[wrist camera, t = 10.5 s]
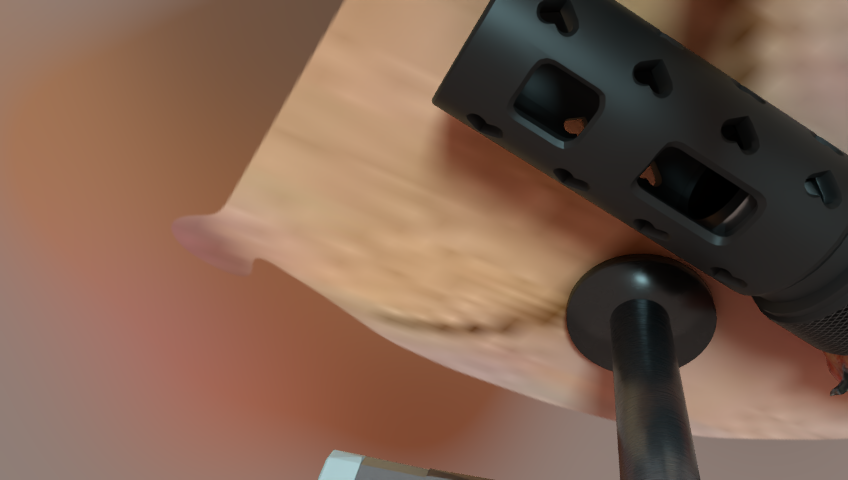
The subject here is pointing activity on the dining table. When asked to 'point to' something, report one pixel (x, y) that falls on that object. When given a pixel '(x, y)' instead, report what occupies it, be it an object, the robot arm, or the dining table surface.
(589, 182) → the muzzle brake
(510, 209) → the dining table surface
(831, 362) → the pomegranate
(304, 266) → the dining table surface
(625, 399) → the posts
